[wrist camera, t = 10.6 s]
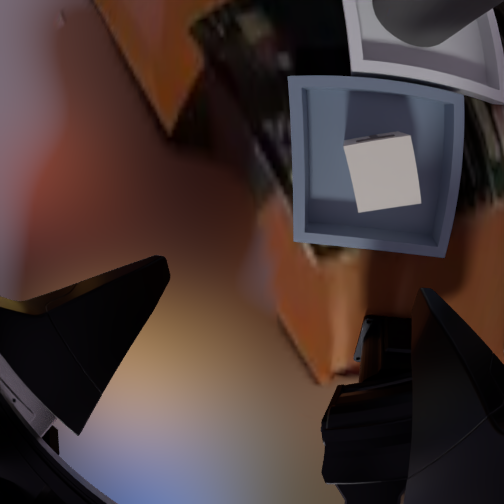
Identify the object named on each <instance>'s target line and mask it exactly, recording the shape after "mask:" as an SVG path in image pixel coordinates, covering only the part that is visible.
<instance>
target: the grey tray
mask: <svg viewBox="0 0 504 504" xmlns="http://www.w3.org/2000/svg"><path fill="white" fill-rule="evenodd" d="M342 4H343V10H344V16H345V23H346V30H347V38H348V47H349V57H350V68H351V76H355V77H368V78H378V79H387V80H395V81H402V82H408V83H414V84H419V85H425V86H430V87H434V88H439V89H443V90H447V91H451V92H455V93H459V94H463V95H466V96H469V97H473V98H476V99H479V100H482V101H485V102H488V103H491V104H501V105H504V54H503V48H502V43H501V38H500V34H499V29H498V25H497V21H496V18H495V14H494V11H493V8H492V9H491V10H489V11H488V12H486V13H485V14H483V15H482V16H480V17H479V18H477V19H476V20H474V21H473V22H471V23H470V24H468V25H467V26H466V27H464V28H463V29H461V30H460V31H458V32H457V33H456V34H454V35H453V36H451V37H450V38H448V39H447V40H445V41H444V42H442V43H440V44H439V45H436V46H432V47H418V46H414V45H410V44H408V43H405V42H403V41H401V40H399V39H398V38H396V37H395V36H393V35H392V34H391V33H389V32H388V31H387V30H386V29H385V28H384V27H383V26H382V25H381V23H380V22H379V20H378V19H377V17H376V15H375V13H374V10H373V5H372V0H342Z"/></svg>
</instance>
